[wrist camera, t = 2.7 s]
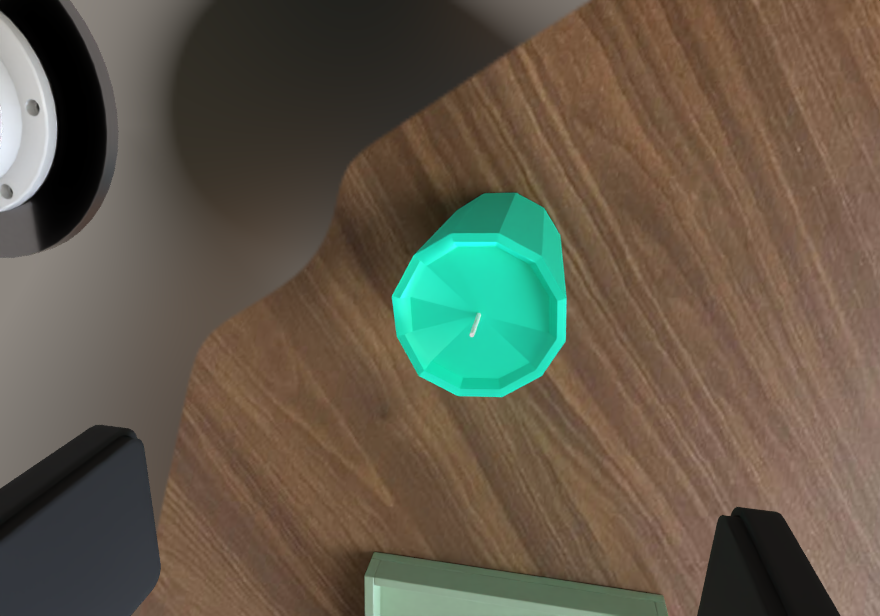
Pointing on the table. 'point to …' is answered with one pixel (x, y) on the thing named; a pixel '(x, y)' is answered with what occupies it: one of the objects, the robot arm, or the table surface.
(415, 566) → the tray
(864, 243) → the table surface
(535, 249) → the candle
